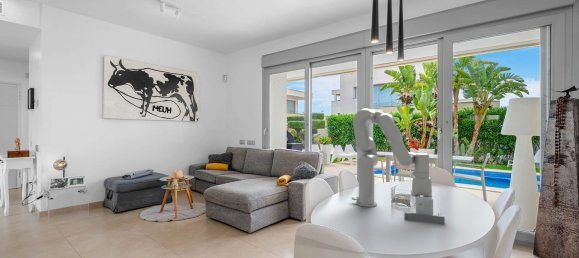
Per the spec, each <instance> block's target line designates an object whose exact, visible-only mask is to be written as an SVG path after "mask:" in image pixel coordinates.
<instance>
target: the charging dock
mask: <svg viewBox="0 0 579 258" xmlns="http://www.w3.org/2000/svg"><path fill="white" fill-rule="evenodd" d="M403 212H404V221H405V220H406V221H407V220H409V221H415V222H423V223H424V222H425V223H434V224H442V225H443V224H445V218H446V217H445V216H444V215H442V213H440V212H438V213H437V215H436V214H435V215H434V214H433V215H428V214H418V213H416V212H408V211H407V209H404V210H403Z"/></svg>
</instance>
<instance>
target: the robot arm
mask: <svg viewBox="0 0 579 258" xmlns="http://www.w3.org/2000/svg"><path fill="white" fill-rule="evenodd" d="M352 119H353V120H352V127H353V132H354V140H355V144H356V149H357V150H358V151H359V152H361V155H360V156H359V157H358V159H357V168H358V169H357V170H358V196H353V195H352V196H351V200H353V201H355V203H356V205H357V206H360V207H366V208H372V207H377V205H378V202H376V201H375V167H376V166H377V165H378V162H379V157H378V152H377V145H376V143H375V140H374V139H373V138H372V137H370V134H369V129H368V126H367V123H370V124H374V125H377V126H379V128H380V130H381V131H382V132H383V135H384V136H385V138H386V140H387V142H388V145H389V146H390V147H389V148H390V149H391V150H392V153H393V155H394V156H395V158H396V160H397V161H398V163H399V164H400V165H402V166H403V167H409V166H411V165H414V170H413V171H412V172H411V175H412V176H413V177H412V181H411V195H410V196H411V197H414V198H416V196H420V197H431V198H432V199H433V190H432V189H433V188H432V178H431V177H430V155H429V154H428V153H425V152H410V151H408V149H407V147H406V145H405V143H404V141H403V140H404V139H403V134H402V133H401V131H400V129H399V128H398V126H397V125H396V122H395V118H394V116H393V115H392V114H390V113H386V112H381V111H379V110H378V111H377V110H375V109H372V108H371V109H370V108H362V109H360V110H358V111H357V112H356V113H355V114H354V116H353V118H352Z"/></svg>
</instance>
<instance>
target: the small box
mask: <svg viewBox="0 0 579 258" xmlns="http://www.w3.org/2000/svg"><path fill="white" fill-rule="evenodd" d="M415 213H418V214H428V215H434V199H433V197H432V198H431V197H423V196H421V195H420V196H416V197H415Z"/></svg>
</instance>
